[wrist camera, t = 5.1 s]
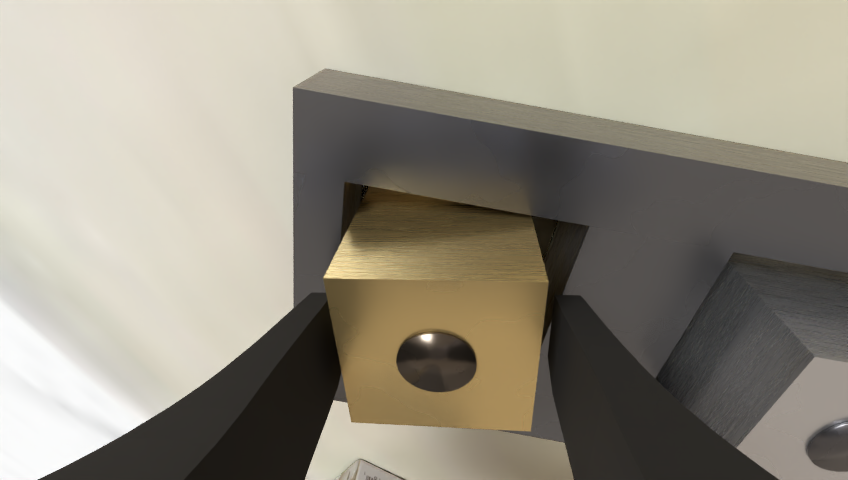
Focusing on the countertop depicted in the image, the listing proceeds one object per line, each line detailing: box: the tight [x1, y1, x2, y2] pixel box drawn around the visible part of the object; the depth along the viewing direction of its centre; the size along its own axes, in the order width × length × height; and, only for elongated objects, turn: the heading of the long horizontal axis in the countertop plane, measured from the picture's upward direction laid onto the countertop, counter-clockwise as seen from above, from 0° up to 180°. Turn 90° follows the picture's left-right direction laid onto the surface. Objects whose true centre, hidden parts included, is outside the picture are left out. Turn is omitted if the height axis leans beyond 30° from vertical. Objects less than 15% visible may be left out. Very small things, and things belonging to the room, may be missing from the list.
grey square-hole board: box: [293, 69, 848, 442], centre depth 13 cm, size 18×10×2 cm, turn 81°
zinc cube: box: [657, 252, 848, 480], centre depth 12 cm, size 4×4×5 cm
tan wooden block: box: [323, 186, 549, 432], centre depth 12 cm, size 4×4×5 cm
